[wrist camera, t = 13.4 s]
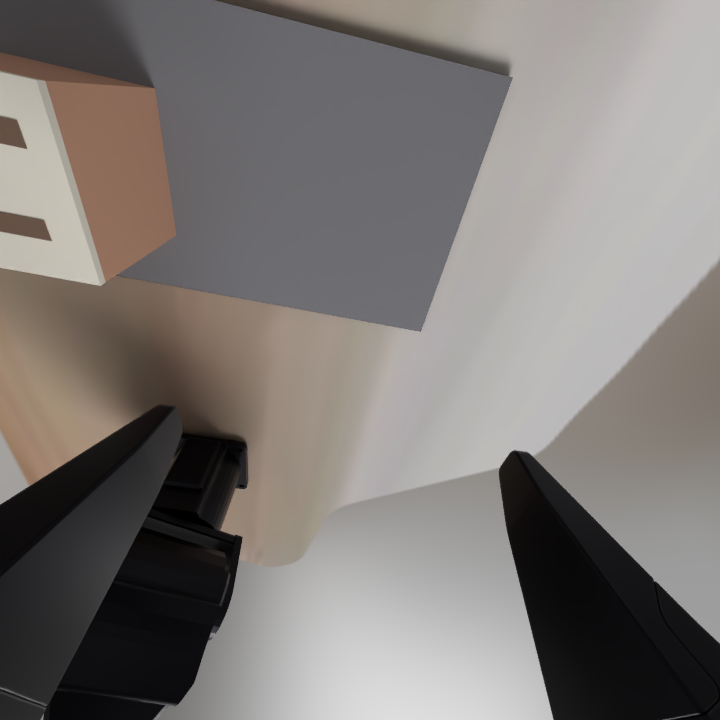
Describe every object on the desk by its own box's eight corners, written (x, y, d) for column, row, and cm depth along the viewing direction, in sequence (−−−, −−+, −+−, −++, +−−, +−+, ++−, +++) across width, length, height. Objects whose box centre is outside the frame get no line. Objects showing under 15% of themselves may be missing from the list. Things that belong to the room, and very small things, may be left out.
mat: (419, 328, 21) (420, 331, 20) (40, 257, 19) (34, 260, 18) (509, 78, 13) (512, 77, 13) (-98, -80, 11) (-112, -85, 11)
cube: (-76, 254, 12) (53, 211, 17) (100, 286, 12) (176, 235, 17) (-223, 21, 8) (-4, 51, 13) (35, 80, 9) (155, 88, 14)
